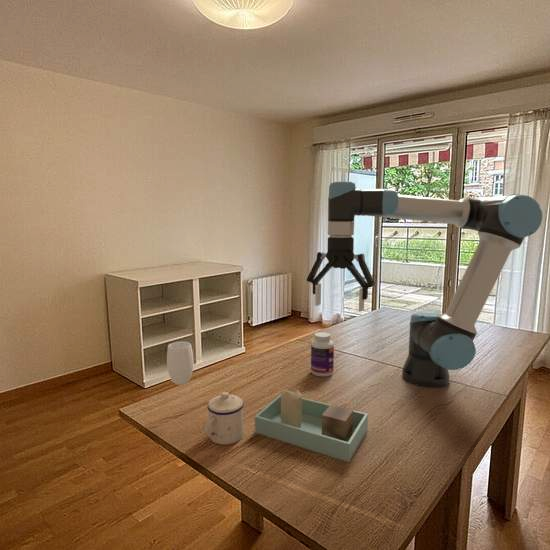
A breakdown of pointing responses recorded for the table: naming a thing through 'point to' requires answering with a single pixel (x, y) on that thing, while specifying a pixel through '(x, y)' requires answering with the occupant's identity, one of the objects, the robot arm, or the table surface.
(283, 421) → the candle
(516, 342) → the table surface
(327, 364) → the pill bottle
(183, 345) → the grey rounded cylinder
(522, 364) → the table surface
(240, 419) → the teacup with lid
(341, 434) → the walnut block
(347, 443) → the tote
